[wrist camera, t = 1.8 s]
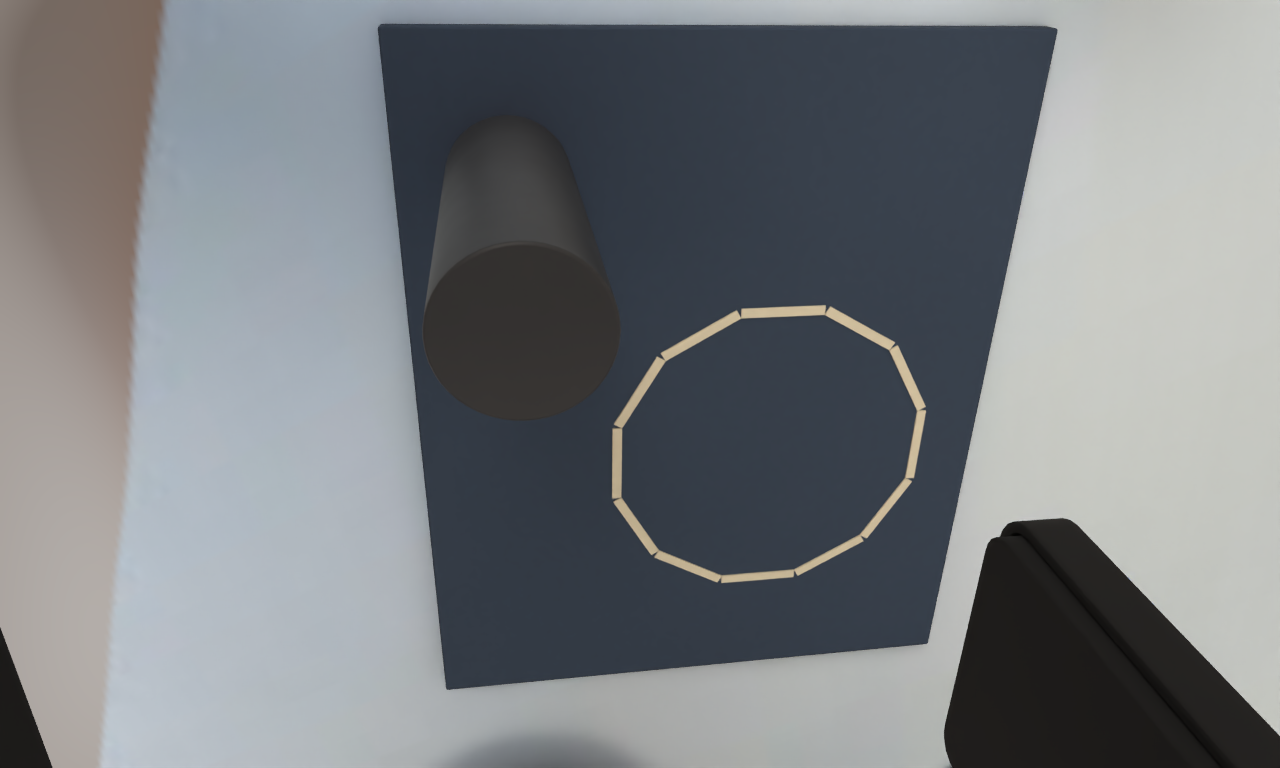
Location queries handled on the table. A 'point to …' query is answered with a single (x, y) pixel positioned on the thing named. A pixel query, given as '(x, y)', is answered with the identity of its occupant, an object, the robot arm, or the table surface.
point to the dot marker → (516, 278)
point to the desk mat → (724, 334)
